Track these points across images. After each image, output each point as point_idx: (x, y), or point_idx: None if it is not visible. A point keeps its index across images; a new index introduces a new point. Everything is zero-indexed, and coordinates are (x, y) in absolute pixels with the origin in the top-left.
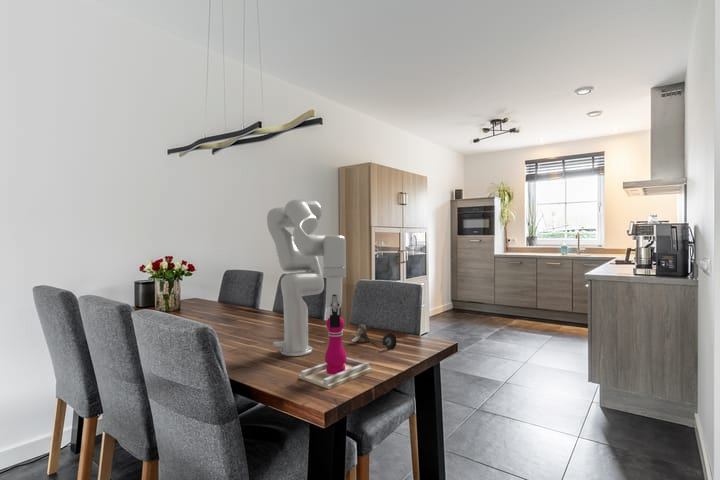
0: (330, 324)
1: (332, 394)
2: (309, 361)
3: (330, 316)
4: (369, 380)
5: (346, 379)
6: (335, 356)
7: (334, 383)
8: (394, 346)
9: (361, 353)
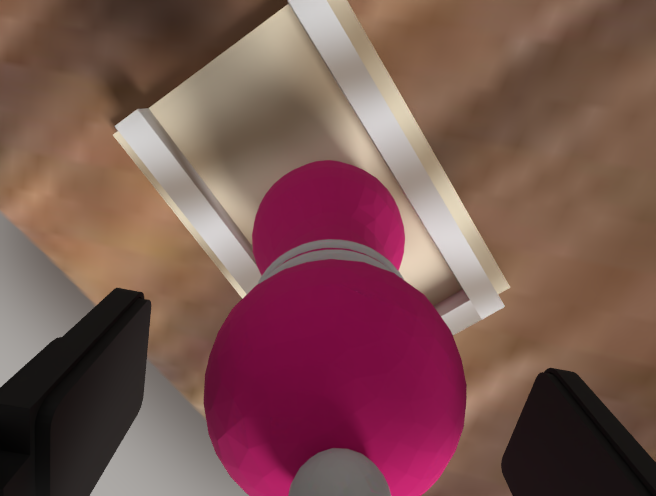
0: (101, 310)
1: (49, 138)
2: (619, 91)
3: (11, 394)
4: (200, 345)
5: (201, 244)
6: (255, 233)
7: (141, 170)
8: None
9: (605, 405)
